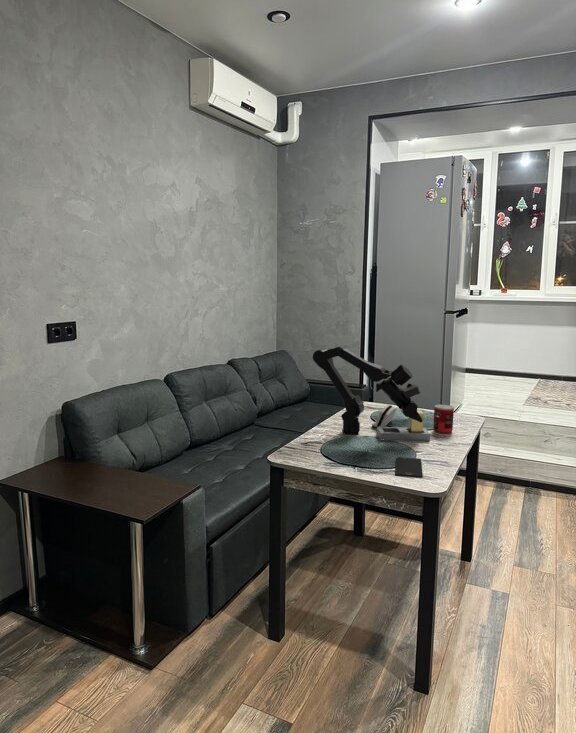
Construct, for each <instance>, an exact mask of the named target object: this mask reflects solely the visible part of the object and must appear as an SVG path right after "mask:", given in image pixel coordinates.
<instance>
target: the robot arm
mask: <svg viewBox="0 0 576 733" xmlns="http://www.w3.org/2000/svg"><path fill="white" fill-rule="evenodd" d="M336 357H339V358H340V359H342V360H344V361H346V362H348V363H349V364H351V365H353V366H354V367H356V368H357V369H359V370H361V371H362V372H363V373H364V374H365V376H366V377H368V378H369V379H370V380H372V382H374V383H375V388H376V390H375V391H376V393H377V392H379V391H380V390H381V391H382V392H383V393H384V394H385V395H386V396H387V397H388V398H389V399H390V400H391V401H392V402H393V403H394V404H395V406H397V407H398V409H399V410H400V411H401V413H402V414H403V415H404V416H405V417H406V418H411V419H414V420H416V421H419V422H422V421H423V422H424V419H423V420H422V418H421V417H420V415H419V414H418V412H417V410H418V408H419V407H418V405H417V404H416V403H415V401H414V400H412V397H414V396H417V395H419V394H421V391H420V389H419V386H418V385H417V384H416V383H415V384H412V383H410V382H409V381H410V380H411V379H412V378H413V376H414V375H413V373H412V372H411V370H410V369H408V368H407V366H404V365H403V364H400V365H398V366H397V368H396V369H394V370H388V369H386V368H385V367H384V366H382V365H379V364H376V363H373V362H370V361H368V360H366V359H364V358H362V357H361V356H359V355H357V354H356V353H353V351H351V350H349V349H348V348H346V347H345V346H343V345H339V346H336V347H334V348H330V349H326V348H321V349H317V350H315V351H314V352H313V355H312V360H313V362H314V363H315V364H316V365H317V367H319V368H320V369H321V370H323V371H324V372H325V373H326V375H327V376H328V379H329V380H330V382H331V383H332V384H333V386H334V387H335V390H336V391H337V392H338V394H339V395H340V397H341V398H342V400H343V406H344V408H345V412H343V413H342V414H341V419H342V429H341V431H342V434H343V435H359V433H360V427H361V425H360V423H361V422H360V420H359V416H360V415H361V414H362V413H363V412H364V411H365V405H364V403H365V401H364V400H362V398H361V396H360V395H359V394H357V395H355V394H353V393H352V391H351V388H349V387H348V385H347V383H346V381H345V380H344V379H343V377H342V376H341V374H340V373H339V371H338V370H337V368H336V367H335V364H334V360H333V359H334V358H336ZM378 382H380V383H378ZM407 382H409V383H407ZM404 384H406V387H405V388H404V389H403V388H401V387H399V386H403V385H404Z"/></svg>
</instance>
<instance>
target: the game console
mask: <svg viewBox="0 0 576 733" xmlns="http://www.w3.org/2000/svg"><path fill="white" fill-rule="evenodd" d="M396 412H397V408H396V406H393V405H391V404H386V405H385V406H384V407H383V408H382V409H381V410H380V412H379V414H378V416H377V418H376V421H375V422H373V423H372V424H371V426H370V428H371V429H373V427H375V428H377V427H387V426H388V425H389V424H390V423H391V422H392V421H393V419H394V416H395V414H396ZM391 420H392V421H391ZM390 421H391V422H390ZM389 422H390V423H389ZM388 423H389V424H388ZM387 424H388V425H387Z"/></svg>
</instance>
